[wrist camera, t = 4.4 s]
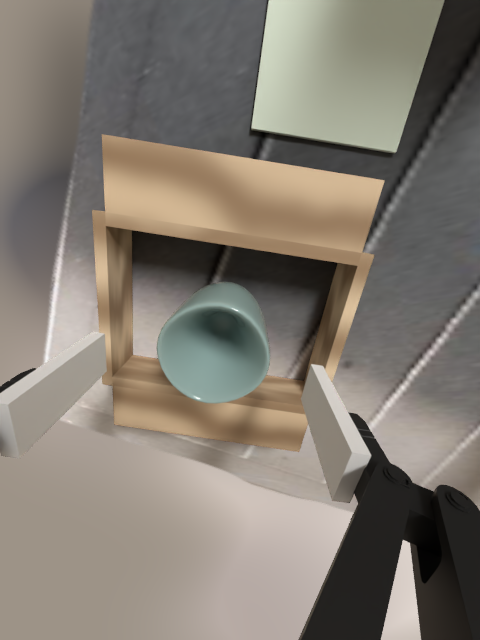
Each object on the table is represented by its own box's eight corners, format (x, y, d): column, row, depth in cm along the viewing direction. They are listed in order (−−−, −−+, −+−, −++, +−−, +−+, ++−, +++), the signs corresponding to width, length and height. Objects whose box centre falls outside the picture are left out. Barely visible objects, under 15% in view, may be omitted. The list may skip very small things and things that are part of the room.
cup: (244, 261, 24) (240, 282, 15) (274, 328, 27) (287, 383, 17) (176, 293, 26) (133, 331, 16) (210, 354, 28) (190, 417, 19)
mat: (281, -90, 16) (282, -97, 16) (460, -58, 16) (465, -65, 16) (251, 130, 20) (251, 128, 20) (393, 153, 21) (396, 152, 20)
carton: (119, 150, 21) (87, 132, 17) (369, 191, 22) (398, 182, 17) (125, 396, 30) (104, 423, 26) (300, 422, 31) (308, 453, 27)
